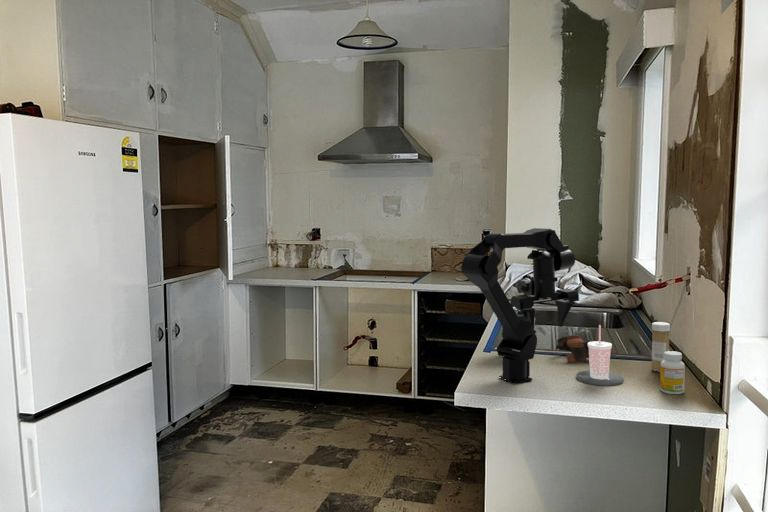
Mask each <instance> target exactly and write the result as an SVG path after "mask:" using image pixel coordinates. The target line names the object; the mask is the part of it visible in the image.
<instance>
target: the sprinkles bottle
mask: <svg viewBox="0 0 768 512" xmlns="http://www.w3.org/2000/svg"><path fill="white" fill-rule="evenodd" d="M651 331H652V336H651V337H652V338H651V339H652V340H651V371H653V370H654V371H653V372H655V371H658V372H657V373H660V369H661V362H662V361H663V360H665V358H664V352H666V351H670V331H671V324H670V323H668V322H665V321H655V322H652V323H651Z"/></svg>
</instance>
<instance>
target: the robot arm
mask: <svg viewBox="0 0 768 512" xmlns="http://www.w3.org/2000/svg"><path fill="white" fill-rule="evenodd" d="M569 247H570V246H569V245H567V244H563V243H562V241H561V240H560V237H559V236H558V235H557V233H556V230H555V229H553V228H542V227H541V228H536V227H534V228H531V229H527V230H525V231H524V232H516V233H515V232H514V233H488V234H486V235H485V236H484V237H483V238H482V240H481V241H480V242H479V243H478V244H476V245H475V246H473V247H472V248H470V250H469V252H468V253H467V254H466V256H464V257H463V259H462V262H461V266H460V270H461V272H462V274H463V275H464V276H465V278H466V279H467V280H468V281H469V282H471V283H472V284H473V285H475V286H476V287H477V288H479V289H480V291H481V293H482V295H483V297H485V300H486V301H487V303H488V305H489V307H490V309H491V310H492V312H493V314H494V316H495V317H496V318H497V320H498V321H499V324H500V325H501V327H503V328H502V331H501V336H502V339H501V341H500V342H499V344H498V346H497V347H496V352H497V356H502V374H501V375H499V376H498V377H501V378H503V379H506V380H507V381H506V382H508V381H509V382H508V383H510V382H511V383H510V384H513V383H515V384H519V383H518V382H520V383H526V382H530V381H531V380H532V381H533V378H532V377H530V373H531V371H530V367H531V366H530V365H531V363H530V360H533V359H534V357H535V353H536V348H537V345H538V337H537V334H536V333H537V331H536V330H535V327H534V318H535V314H536V308H533V307H534V304H539V303H547V302H554V303H555V304H556V306H557V307H556V309H557V325H558V327H560V328H562V327H563V325H564V323H565V320H566V318H567V316H568V314H569V312H570V310H571V308H572V307H573V305H576V302H579V301H580V294H579V292H578V291H577V290H576V289H571V288H561V289H559V288H558V289H556V282H558V280H559V279H558V277H556V275H555V274H556V273H555V272H558V271H562V270H563V271H564V270H567V269H568V270H569V269H571V268H573V267H574V265H575V263H576V257H575V255H574V252H573V251H572V250H571V249H570V248H569ZM516 248H517V249H518V248H528V249H532V250H531V252H530V253H529V254H528V255H527V256H526V258H527V260H532V276H531V277H530V281H529V282H526V280H522V281H521V280H520V281H517V282H516V289H517V292H518V294H519V295H517V294H516V295H512V296H511V298H510V300H509V298H508V296H507V294H506V293H505V291H504V289H503V287H502V286H501V284H500V282H499V281H498V278H499V268H498V266H499V265H500V264H501V261H502V258H503V251H504V250H505V249H516ZM491 250H492V252H491V254H490V255H487V254H488V253H489V252H490V251H491ZM514 308H515V309H516V310H519V311H520V312H521V313H522V314H521V315H523V316H524V317H525V320H526V321H525V320H520V319H519V318H518V316H517V315H518V314H517V312H516V311H515V309H514ZM512 349H515V350H519V351H520V352H517V351H513V350H512ZM501 378H500V379H501ZM503 379H502V380H503ZM525 381H526V382H525Z"/></svg>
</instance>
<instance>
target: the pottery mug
mask: <svg viewBox="0 0 768 512" xmlns="http://www.w3.org/2000/svg"><path fill="white" fill-rule="evenodd" d="M592 341H595V340H593V339H588V340H583V338H582V336H581V335H578V334H577V335H575V334H573V335H568V336H567V335H566V336H562V337H560V338H558V339H557V340H556V343H557V345H556V346H555V350H559V351H567V352H571V353H570V354H567V355H566V360H567V362H568V363H574V362H587V359H589V347H588V342H592Z"/></svg>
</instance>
